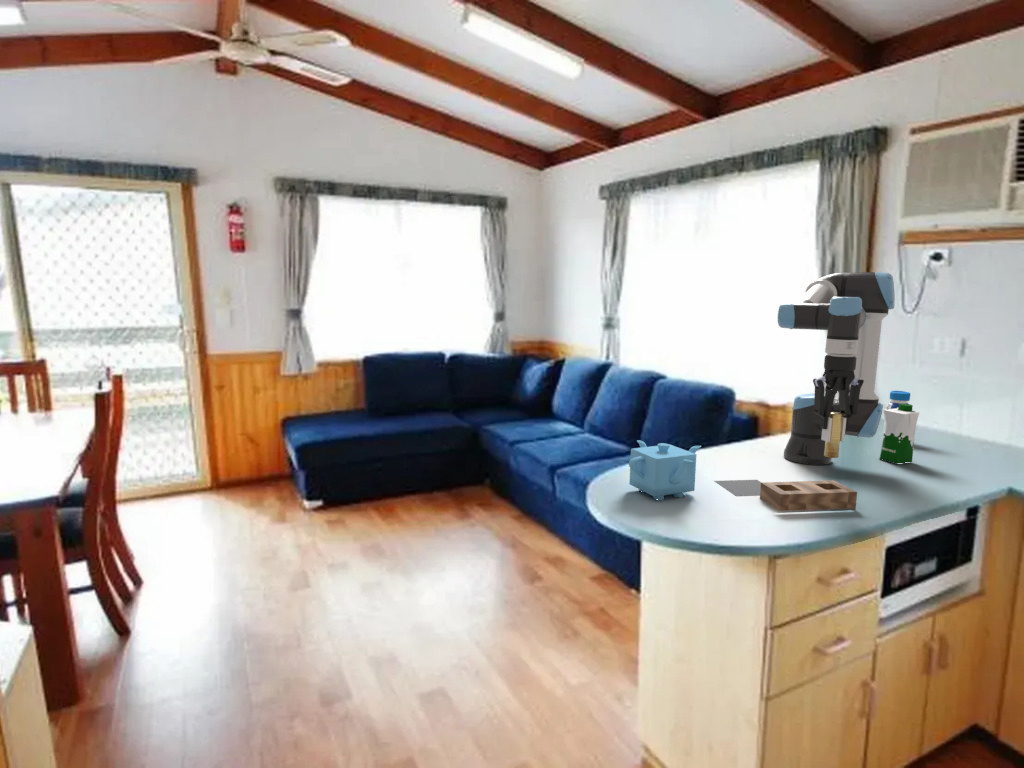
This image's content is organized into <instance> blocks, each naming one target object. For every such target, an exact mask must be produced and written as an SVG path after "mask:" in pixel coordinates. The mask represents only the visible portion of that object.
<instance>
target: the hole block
mask: <svg viewBox="0 0 1024 768" xmlns="http://www.w3.org/2000/svg"><path fill="white" fill-rule="evenodd" d="M857 497H858V491H856V490H854V489H852V488H850V487H848V486H847V485H844V484H841V483H840V482H838V481H836V480H834V479H830V480H807V481H806V480H804V481H803V480H802V481H774V482H773V481H772V482H771V481H769V482H767V481H765V482H763V481H762V483H761V488H760V496H759V499H760V500H762V501H764V503H766V504H768V505H770V506H771V507H773V508H775V509H776V510H777V511H779V512H790V511H799V512H806V511H811V510H812V511H817V510H834V509H835V510H839V509H840V510H844V509H852V510H857V509H856V507H857V499H858V498H857Z"/></svg>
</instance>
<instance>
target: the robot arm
mask: <svg viewBox="0 0 1024 768" xmlns="http://www.w3.org/2000/svg"><path fill="white" fill-rule="evenodd" d="M895 294H896V293H895V281H894V277H893V275H892V274H891V273H889V272H881V271H880V272H879V271H873V272H872V271H869V272H865V271H863V272H861V271H860V272H846V271H845V272H843V271H841V272H836V273H835V272H834V273H831V274H827V275H824V276H822V277H819V278H817V279H816V280H814V281H813V282H811V283H810V284H809V285H808V286H807V287H806V289H805V292H804V294H803V295H801V296H800V298H798V299H797V300H796V301H795V302H792V301H790V302H782V303H781V304H780V305H779V306H778V311H777V323H778V326H779V327H780V328H782V329H789V330H818V331H819V330H820V331H827V333H826V339H825V349H824V350H825V351H824V353H826V355H825V356H824V361H823V362H824V363H823V368H824V369H823V370H824V373H823V374H822V376H821V377H819V378H813V379H812V382H813V386H814V392H813V393H804V394H799V395H796V397H794V400H793V406H792V417H791V429H790V437H789V439H788V441H787V444H786V446H785V448H784V450H783V458H785V459H786V460H788V461H791V462H794V463H799V464H803V465H813V466H824V464H825V465H828V464H831V463H832V459H833V458H830V457H826V456H824V451H825V441H826V442H830V437H831V426H832V418H830V417H829V416H830V413H831V412H838V413H842V414H843V415H842V426H841V436H840V443H841V442H845V439H846V438H845V436H853V437H857V438H868V439H869V438H873V437H874V436H875V435H876V433H877V430H878V428H879V425H880V422H881V418H882V413H883V411H884V409H883V408H884V404H882V403H881V402H879V400H880V398H879V396H878V395H876V393H875V388H876V387H875V386H876V380H877V379H876V378H877V377H876V376H877V368H878V362H879V361H878V360H879V359H878V358H879V350H880V341H881V340H880V339H881V332H882V322H883V320H884V318H886V317H887V316H888V315H889V311H890V310H893V309H895V303H896V302H895V301H896V300H895ZM836 394H838V399H836V398H835V397H836Z"/></svg>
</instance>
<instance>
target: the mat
mask: <svg viewBox="0 0 1024 768" xmlns="http://www.w3.org/2000/svg"><path fill="white" fill-rule="evenodd" d="M714 483H716V484H718V485H719V486H720V487H722V488H723V489H725V490H726V491H727V492H730V494H732V495H733V496H735V497H753V496H754V497H757V496H759V497H760V488H761V483H763V481H760V480H758V479H733V480H731V479H730V480H727V479H726V480H714Z"/></svg>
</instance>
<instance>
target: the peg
mask: <svg viewBox="0 0 1024 768" xmlns="http://www.w3.org/2000/svg"><path fill="white" fill-rule="evenodd" d="M842 415H843V414H842V413H838V412H831V413H830V416H829V417H830V418H832V426H831V437H830V442H826V441H825V451H824V456H826V457H830V458H832V459H837V458H839V457H840V456H839V455H840V447H841V446H840V444H841V441H840V436H841V426H842Z"/></svg>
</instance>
